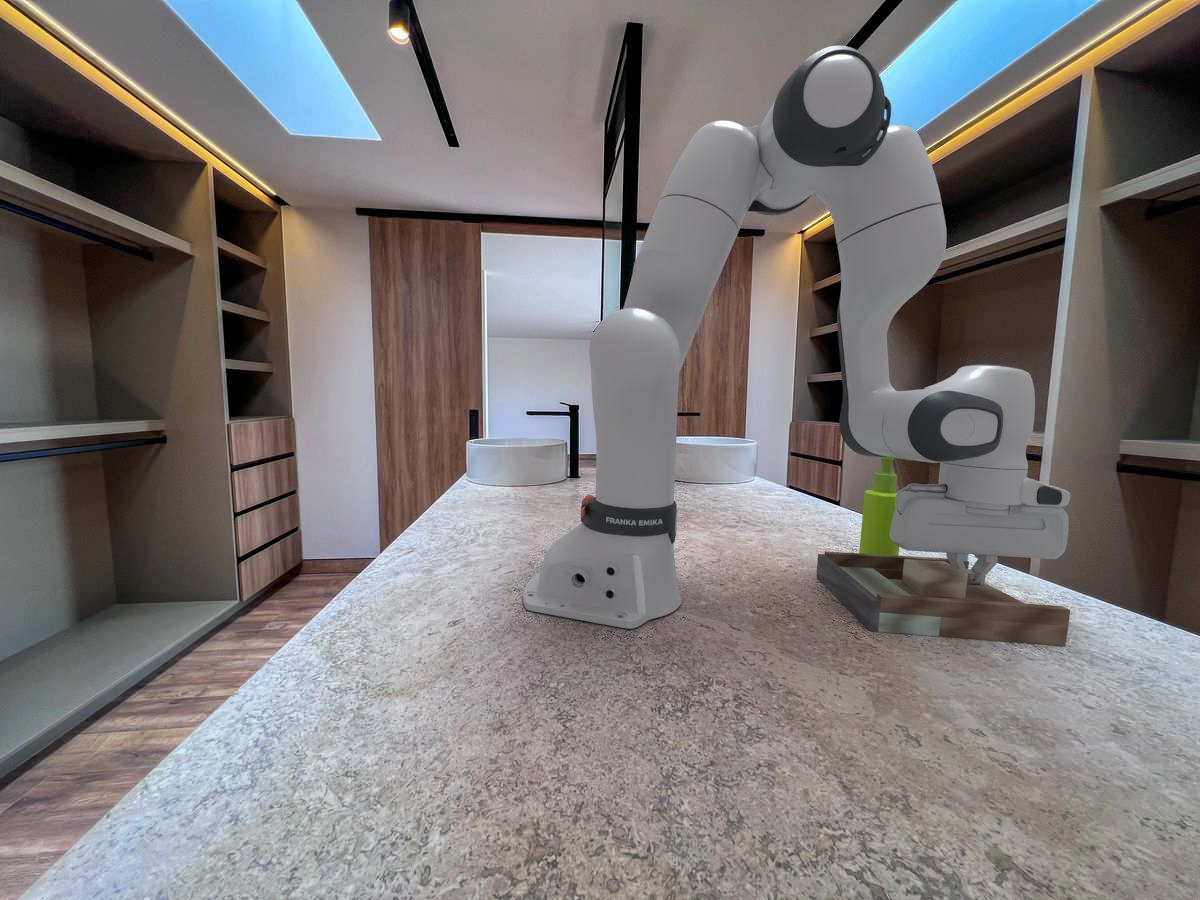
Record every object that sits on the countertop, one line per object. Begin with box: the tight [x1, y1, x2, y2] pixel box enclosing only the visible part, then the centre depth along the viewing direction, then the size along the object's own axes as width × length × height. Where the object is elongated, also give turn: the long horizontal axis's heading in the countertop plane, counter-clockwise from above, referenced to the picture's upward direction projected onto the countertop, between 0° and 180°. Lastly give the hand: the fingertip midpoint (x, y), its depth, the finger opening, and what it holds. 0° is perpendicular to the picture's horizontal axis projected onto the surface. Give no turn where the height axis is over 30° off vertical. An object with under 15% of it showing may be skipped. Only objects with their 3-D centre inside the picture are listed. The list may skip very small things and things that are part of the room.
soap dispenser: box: [858, 457, 900, 556], centre depth 76 cm, size 6×7×20 cm
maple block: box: [902, 559, 968, 598], centre depth 60 cm, size 6×4×4 cm
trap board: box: [815, 551, 1071, 647], centre depth 60 cm, size 22×17×4 cm
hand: (968, 583), depth 59 cm, fingers closed
